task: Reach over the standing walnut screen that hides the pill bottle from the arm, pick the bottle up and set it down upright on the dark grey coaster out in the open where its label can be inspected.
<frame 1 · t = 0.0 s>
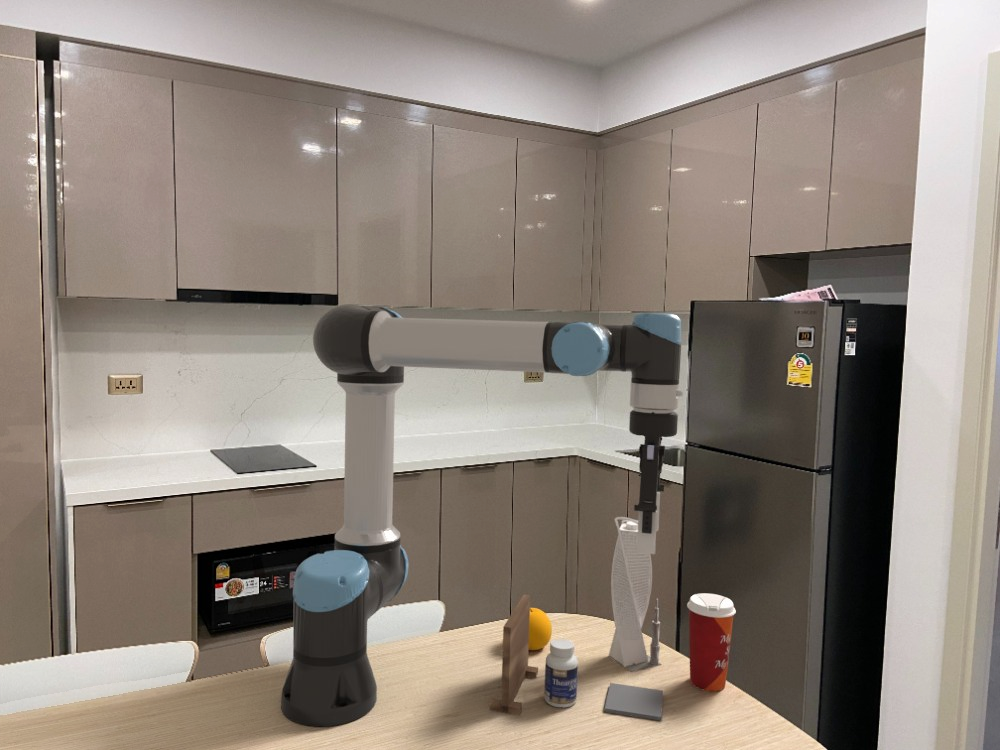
hand: (648, 540, 118), 28 cm above the table, fingers open, 13 cm apart
coffee cup: (707, 684, 130), on the table
pill bottle: (560, 701, 122), on the table
screen: (515, 690, 125), on the table
skyscraper: (629, 662, 138), on the table
coaster: (634, 702, 122), on the table
orange: (530, 647, 143), on the table
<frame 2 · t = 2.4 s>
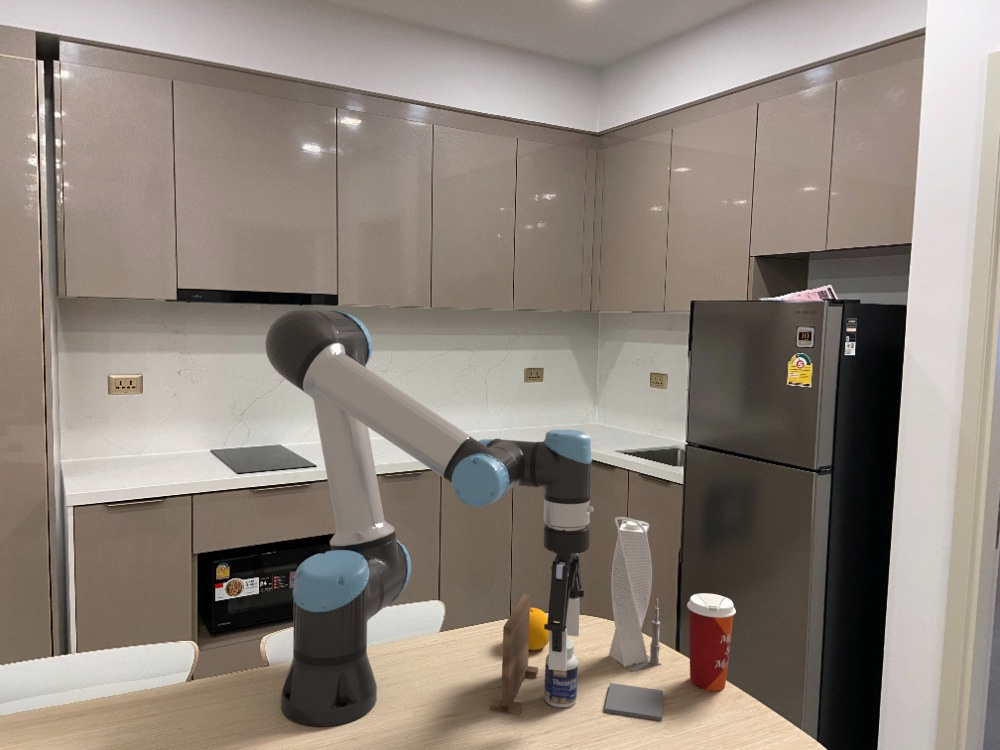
hand: (564, 651, 121), 8 cm above the table, fingers open, 13 cm apart
nothing on the table moved.
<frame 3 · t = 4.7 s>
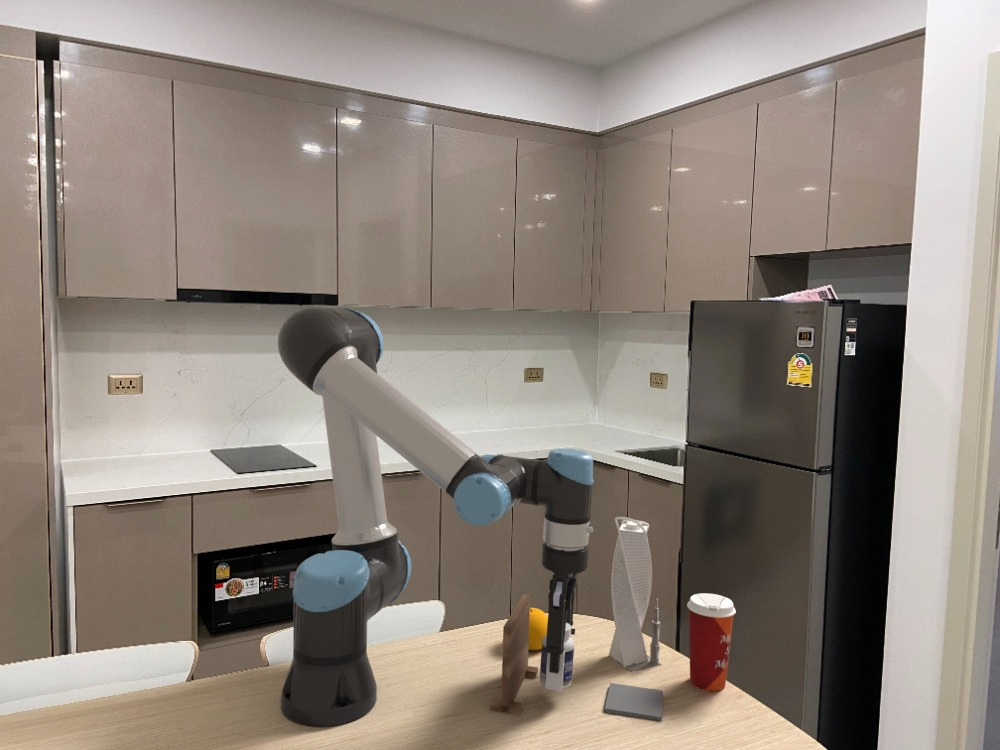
hand: (556, 680, 122), 3 cm above the table, fingers closed on pill bottle, 5 cm apart
pill bottle: (555, 683, 122), point 3 cm above the table, touching gripper
everything else where it was.
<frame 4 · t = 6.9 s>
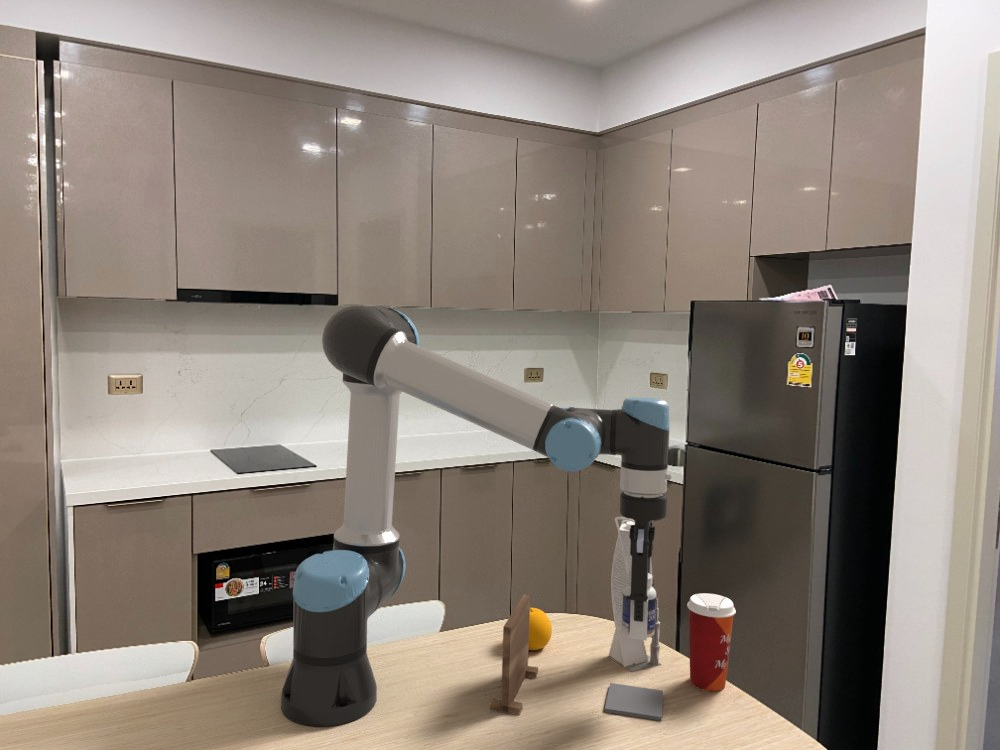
hand: (639, 630, 121), 12 cm above the table, fingers closed on pill bottle, 5 cm apart
pill bottle: (638, 633, 121), point 12 cm above the table, touching gripper
everything else where it was.
when the fingers open (2 cm above the table, at t = 9.0 s): pill bottle stays where it is, resting on coaster.
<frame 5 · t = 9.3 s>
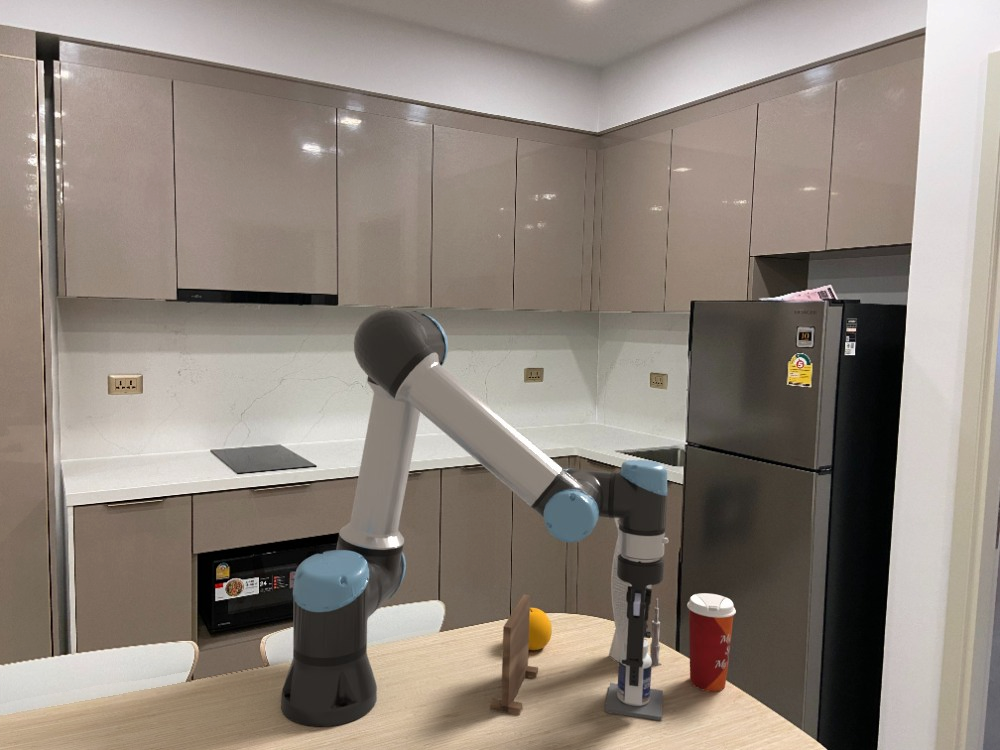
hand: (635, 688, 122), 2 cm above the table, fingers open, 9 cm apart
pill bottle: (633, 700, 122), resting on coaster
everything else where it was.
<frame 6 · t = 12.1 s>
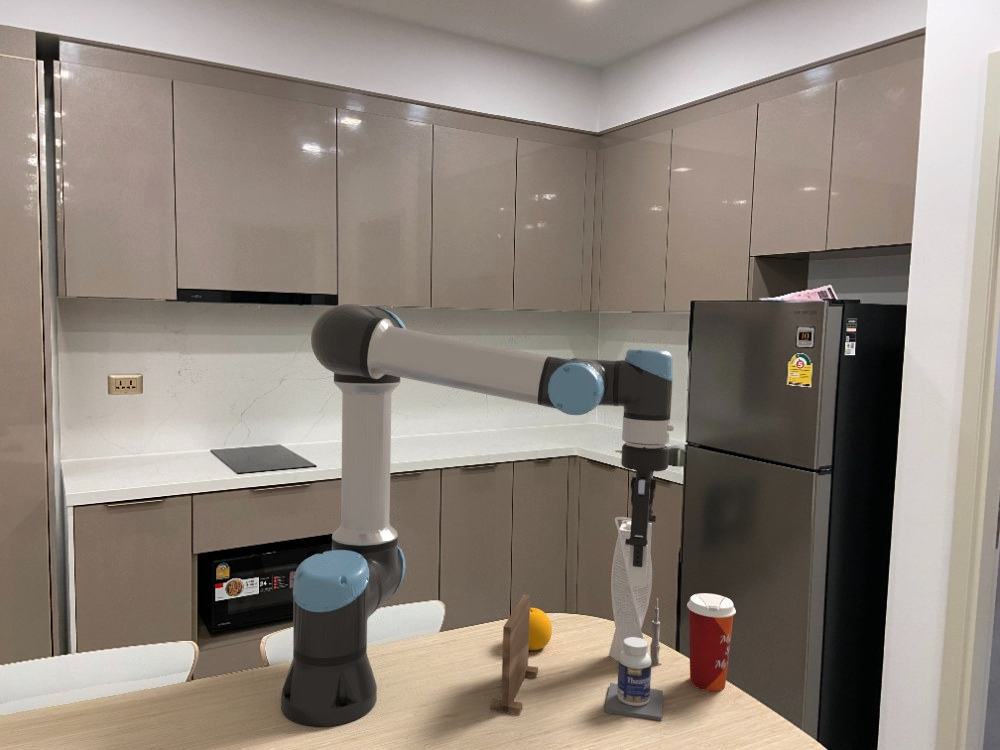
hand: (639, 572, 121), 22 cm above the table, fingers open, 13 cm apart
nothing on the table moved.
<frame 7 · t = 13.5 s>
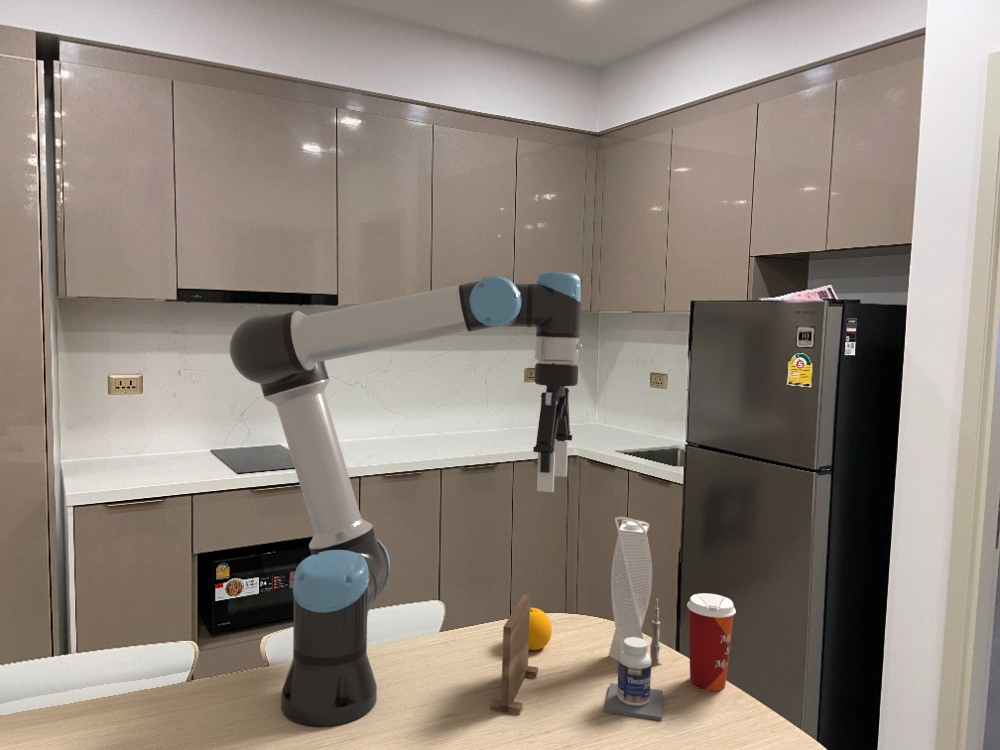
hand: (552, 483, 128), 35 cm above the table, fingers open, 13 cm apart
nothing on the table moved.
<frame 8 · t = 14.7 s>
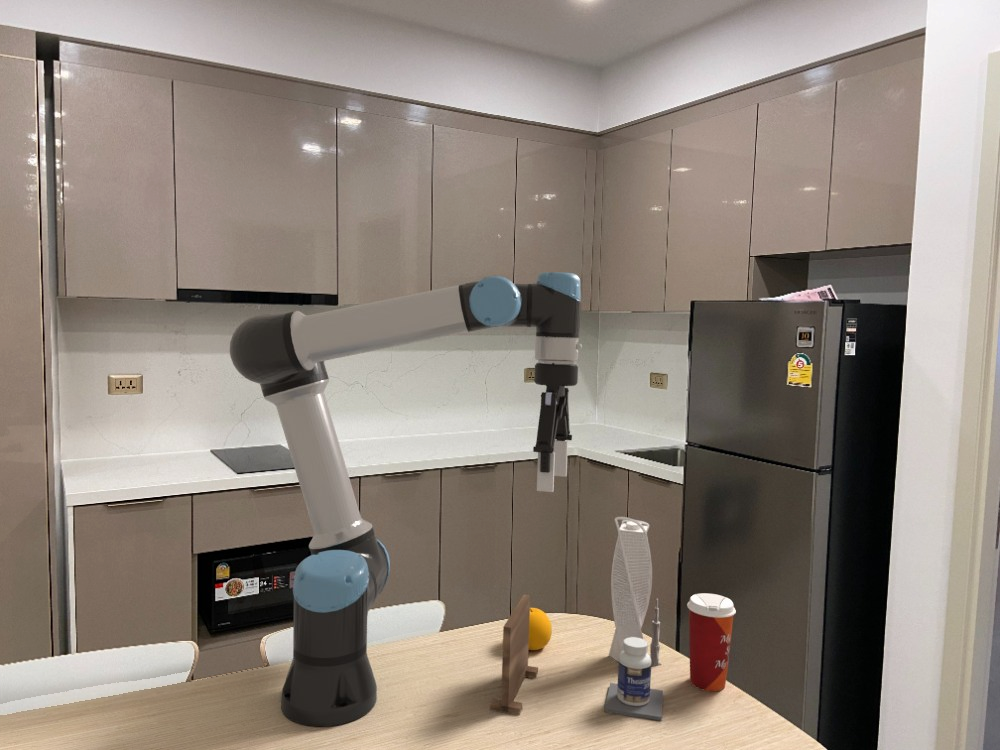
hand: (552, 483, 128), 35 cm above the table, fingers open, 13 cm apart
nothing on the table moved.
at the end: pill bottle inside the target area on the coaster (0.2 cm from its centre), point 0.4 cm above the coaster's base; pill bottle tilted 0°; the gripper is holding nothing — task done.
